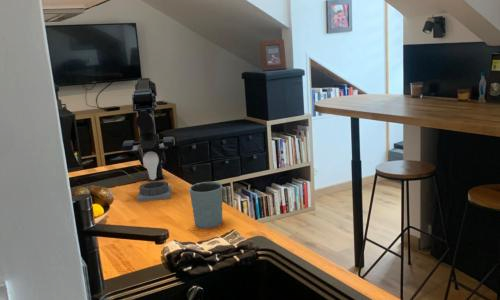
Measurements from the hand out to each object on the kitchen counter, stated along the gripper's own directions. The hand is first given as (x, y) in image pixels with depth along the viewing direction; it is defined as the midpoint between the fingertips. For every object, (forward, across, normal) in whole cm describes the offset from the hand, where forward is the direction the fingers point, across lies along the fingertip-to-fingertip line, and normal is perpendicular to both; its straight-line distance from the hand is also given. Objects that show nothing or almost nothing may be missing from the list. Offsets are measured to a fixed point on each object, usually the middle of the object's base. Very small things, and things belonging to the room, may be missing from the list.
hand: (151, 166), depth 178 cm
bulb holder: (+11, 0, 0) cm, 11 cm away
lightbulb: (+6, 0, 0) cm, 6 cm away
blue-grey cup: (+11, +19, -36) cm, 42 cm away
